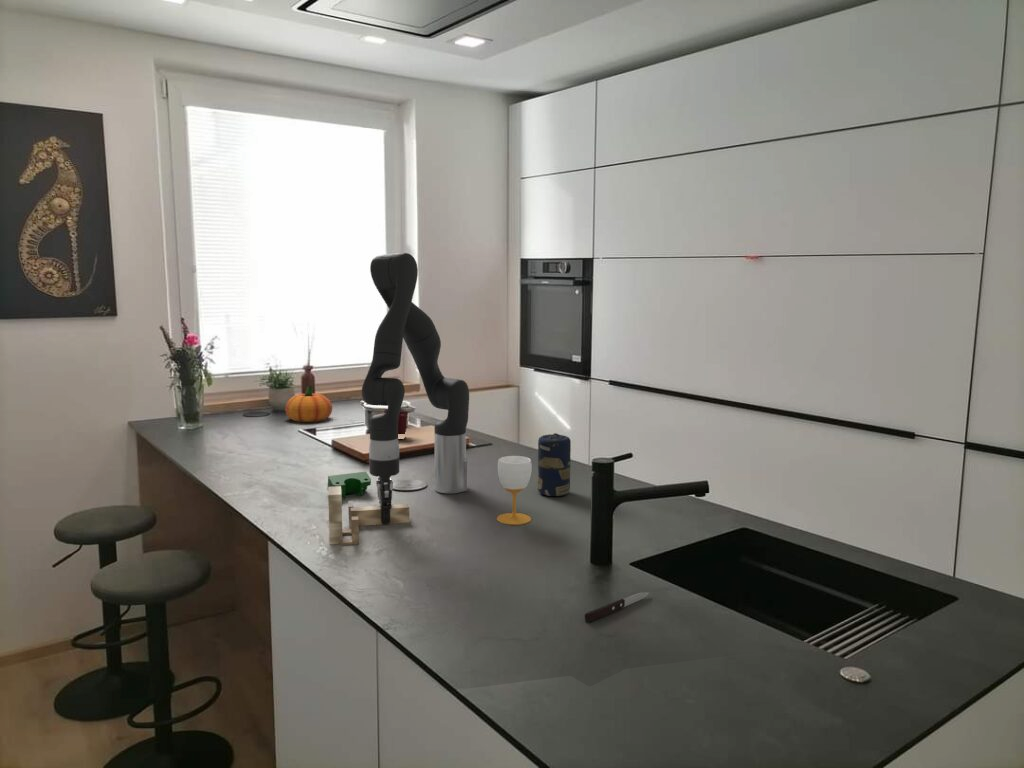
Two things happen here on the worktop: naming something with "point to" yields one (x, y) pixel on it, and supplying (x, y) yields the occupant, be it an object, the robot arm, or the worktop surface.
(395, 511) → the light wooden bar
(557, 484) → the canister
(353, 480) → the clamp
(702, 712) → the worktop surface
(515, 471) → the cup
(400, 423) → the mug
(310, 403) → the pumpkin
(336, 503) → the post block
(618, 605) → the kitchen knife
